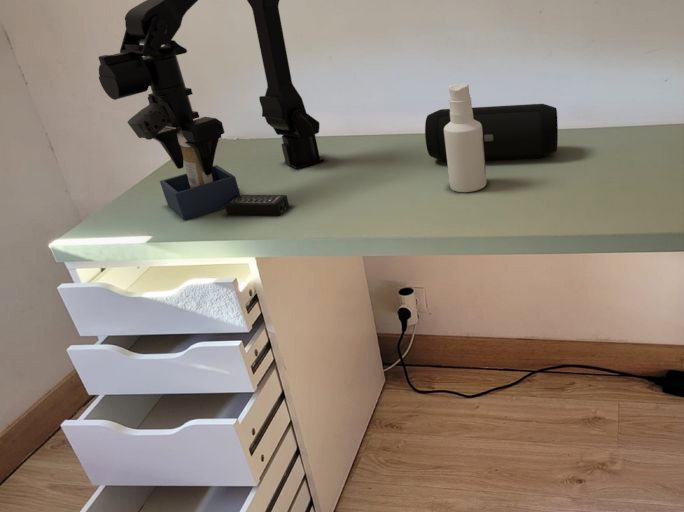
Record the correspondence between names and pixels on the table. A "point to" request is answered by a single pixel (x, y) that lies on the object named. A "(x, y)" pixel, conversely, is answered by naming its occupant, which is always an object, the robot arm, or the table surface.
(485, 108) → the portable speaker
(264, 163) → the table surface
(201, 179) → the sprinkles bottle
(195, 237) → the table surface
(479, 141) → the spray bottle
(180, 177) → the tub
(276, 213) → the multiport hub
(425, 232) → the table surface
